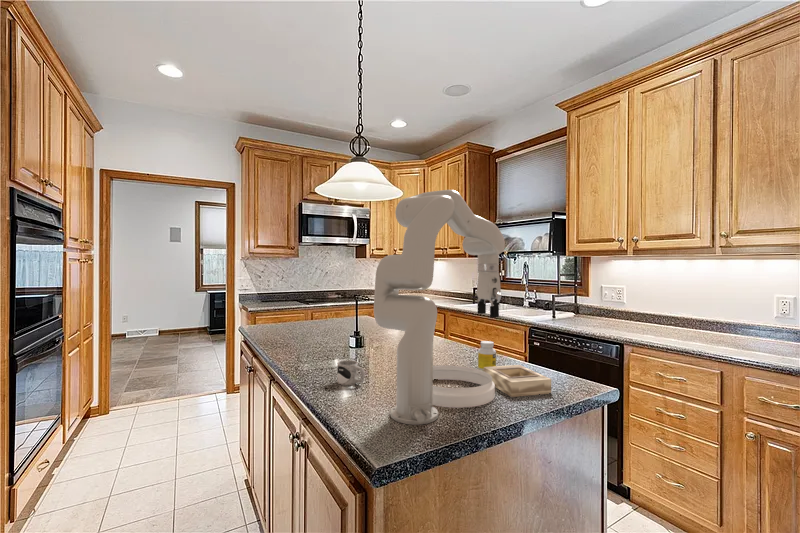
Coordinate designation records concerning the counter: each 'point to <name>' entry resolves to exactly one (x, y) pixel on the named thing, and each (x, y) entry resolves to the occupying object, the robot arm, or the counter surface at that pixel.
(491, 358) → the pill bottle
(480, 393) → the white open ring
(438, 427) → the counter surface
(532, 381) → the socket block
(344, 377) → the mug
